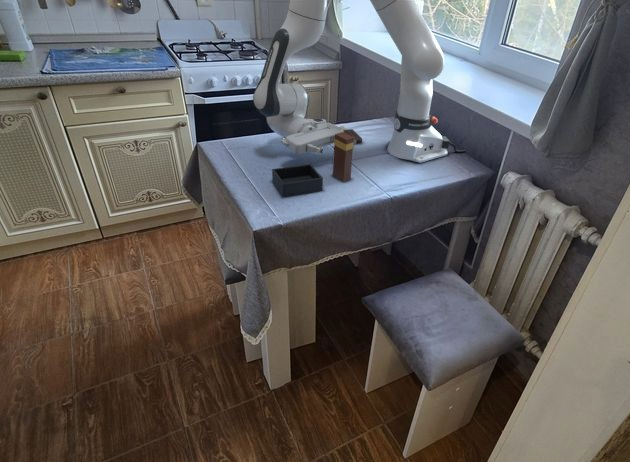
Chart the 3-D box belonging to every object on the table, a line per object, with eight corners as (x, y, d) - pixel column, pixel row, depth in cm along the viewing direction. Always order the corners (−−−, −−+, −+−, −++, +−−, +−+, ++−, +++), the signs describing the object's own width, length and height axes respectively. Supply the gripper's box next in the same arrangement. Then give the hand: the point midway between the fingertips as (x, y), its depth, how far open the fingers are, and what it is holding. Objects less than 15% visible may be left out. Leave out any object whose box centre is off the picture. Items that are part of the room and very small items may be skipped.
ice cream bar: (334, 129, 167) (350, 145, 157) (334, 125, 166) (350, 140, 156) (347, 128, 170) (363, 143, 159) (347, 124, 169) (363, 139, 158)
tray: (310, 175, 135) (310, 163, 132) (322, 190, 128) (322, 178, 126) (272, 181, 130) (272, 168, 127) (282, 197, 123) (282, 184, 120)
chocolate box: (339, 172, 138) (342, 131, 130) (350, 179, 136) (354, 137, 128) (332, 175, 136) (334, 134, 128) (343, 182, 134) (346, 140, 126)
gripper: (277, 130, 133) (306, 146, 126) (326, 117, 146) (355, 131, 139) (278, 149, 136) (306, 166, 129) (326, 135, 149) (354, 149, 142)
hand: (332, 147), depth 134 cm, fingers open, 8 cm apart
